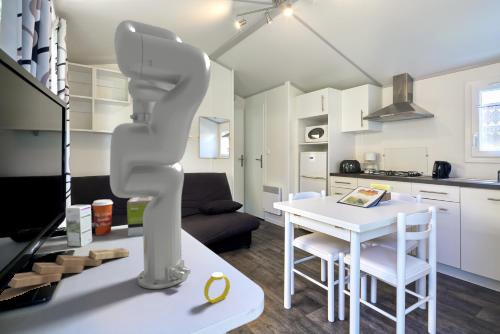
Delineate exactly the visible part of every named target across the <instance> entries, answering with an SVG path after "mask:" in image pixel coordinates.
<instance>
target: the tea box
mask: <svg viewBox="0 0 500 334" xmlns="http://www.w3.org/2000/svg"><path fill="white" fill-rule="evenodd" d="M152 198H153V197H149V196H147V197H135V198H129V200H127V202H126V212H127V213H126V215H127V233H128V234H127V236H128V237H140V236H143V213H144V210H145V208H146V206H147V205H148V204H149V202H150V201H151V200H152Z"/></svg>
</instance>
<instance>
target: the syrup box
mask: <svg viewBox="0 0 500 334" xmlns="http://www.w3.org/2000/svg"><path fill="white" fill-rule="evenodd" d="M91 209H92V204H74V205H70V206H67V207H65V216H66V217H65V222H66V238H67V239H66V241H67V244H66V245H67V247H72V248H73V247H76V248H77V247H78V248H79V247H81V248H82V247H85V246H87V245H89V244H91V243H93V235H92V234H93V233H92V232H93V231H92V210H91Z"/></svg>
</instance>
